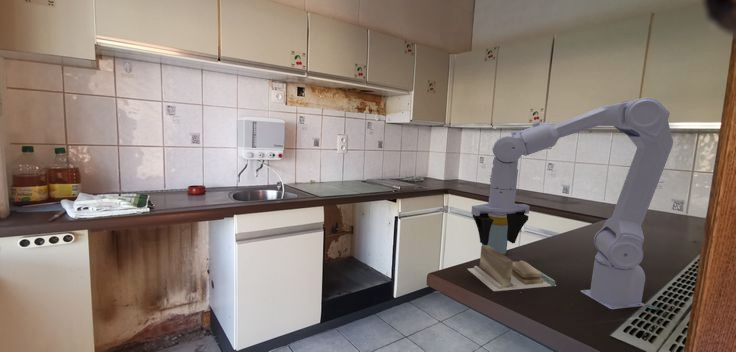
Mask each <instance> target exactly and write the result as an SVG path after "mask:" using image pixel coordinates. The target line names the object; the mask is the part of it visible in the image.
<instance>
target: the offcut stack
mask: <svg viewBox="0 0 736 352" xmlns="http://www.w3.org/2000/svg"><path fill="white" fill-rule="evenodd" d="M539 271H540V270H539V269H537V270H536V268H535V267H533V265H531V264H530V263H529V262H527V261H524V262H519V261H513V265H512V276H513V277H515V278H516V279H518V280H519V281H521V282H522V283H523V284H525V285H529V284H541V283H543V281H544V280H543V279H541V278H540V277H542V273H543V272H542V273H541V271H540V272H539Z"/></svg>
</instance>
